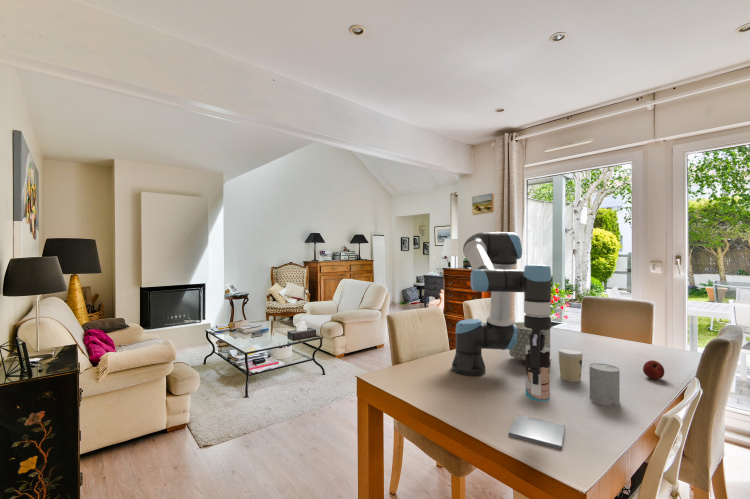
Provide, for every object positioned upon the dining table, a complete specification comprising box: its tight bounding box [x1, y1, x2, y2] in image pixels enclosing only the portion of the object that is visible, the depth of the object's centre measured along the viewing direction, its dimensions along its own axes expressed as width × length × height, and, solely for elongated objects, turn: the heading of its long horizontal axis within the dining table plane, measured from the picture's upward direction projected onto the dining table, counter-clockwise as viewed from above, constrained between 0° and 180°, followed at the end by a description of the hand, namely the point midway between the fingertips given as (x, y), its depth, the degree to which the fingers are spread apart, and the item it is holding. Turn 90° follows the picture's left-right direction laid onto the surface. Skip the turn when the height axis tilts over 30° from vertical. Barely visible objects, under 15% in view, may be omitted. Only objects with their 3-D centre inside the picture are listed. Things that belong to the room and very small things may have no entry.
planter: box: [508, 321, 551, 364], centre depth 179 cm, size 19×19×18 cm
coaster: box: [508, 414, 566, 450], centre depth 108 cm, size 14×14×1 cm
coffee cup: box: [558, 348, 584, 383], centre depth 154 cm, size 9×9×12 cm
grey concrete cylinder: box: [588, 362, 621, 407], centre depth 132 cm, size 10×10×12 cm
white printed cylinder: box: [525, 345, 551, 402], centre depth 108 cm, size 7×7×15 cm
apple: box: [642, 360, 665, 380], centre depth 155 cm, size 7×8×8 cm
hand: (537, 390), depth 108 cm, fingers closed on white printed cylinder, 7 cm apart
